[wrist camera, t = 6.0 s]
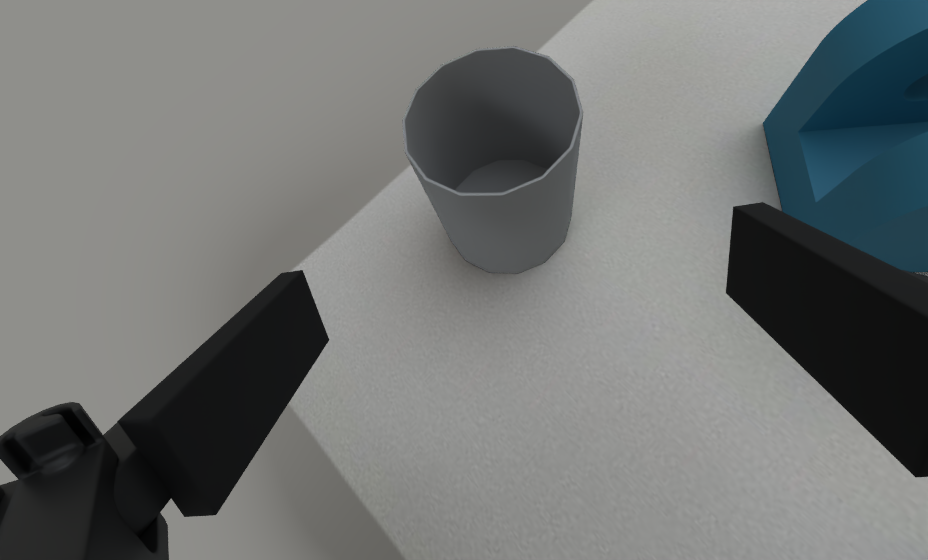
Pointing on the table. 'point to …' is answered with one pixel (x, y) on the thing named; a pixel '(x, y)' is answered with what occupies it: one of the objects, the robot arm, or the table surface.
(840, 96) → the camera mount
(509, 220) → the cup
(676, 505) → the table surface
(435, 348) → the table surface
